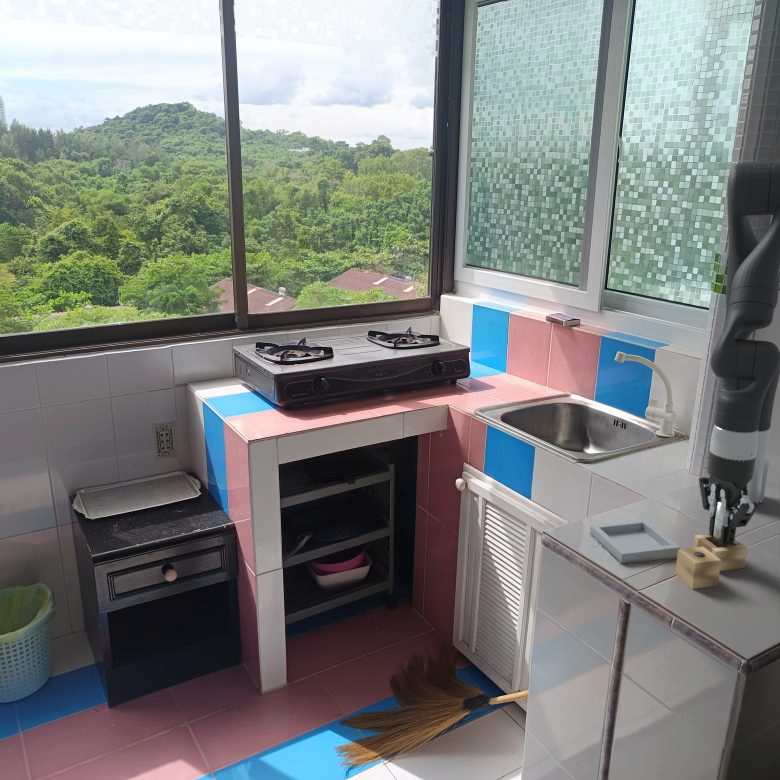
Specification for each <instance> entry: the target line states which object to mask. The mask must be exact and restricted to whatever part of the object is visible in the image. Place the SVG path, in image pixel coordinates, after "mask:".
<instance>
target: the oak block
mask: <svg viewBox="0 0 780 780" xmlns="http://www.w3.org/2000/svg"><path fill="white" fill-rule="evenodd" d="M712 540H713V537H712V536H710V535H709V533H705V534H695V535H694V538H693V544H692V548H696V547H704V548H706V549H707V550H708V551H710V552H711V553H712V554H714V555H715V556H716V557H718V558H719V559H720V560H721V565H720V572H721V571H722V572H724V571H730V570H737V569H745V568H746V562H747V555H748V549H749V547H747V546H745V545H744V544H743V543H741V542H740V541H739V540H737V539H735V540H734V542H733V543H732V544H730V545H728V546H727V547H720V548H718V547H716V546H715V545H714V544H712Z"/></svg>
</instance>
